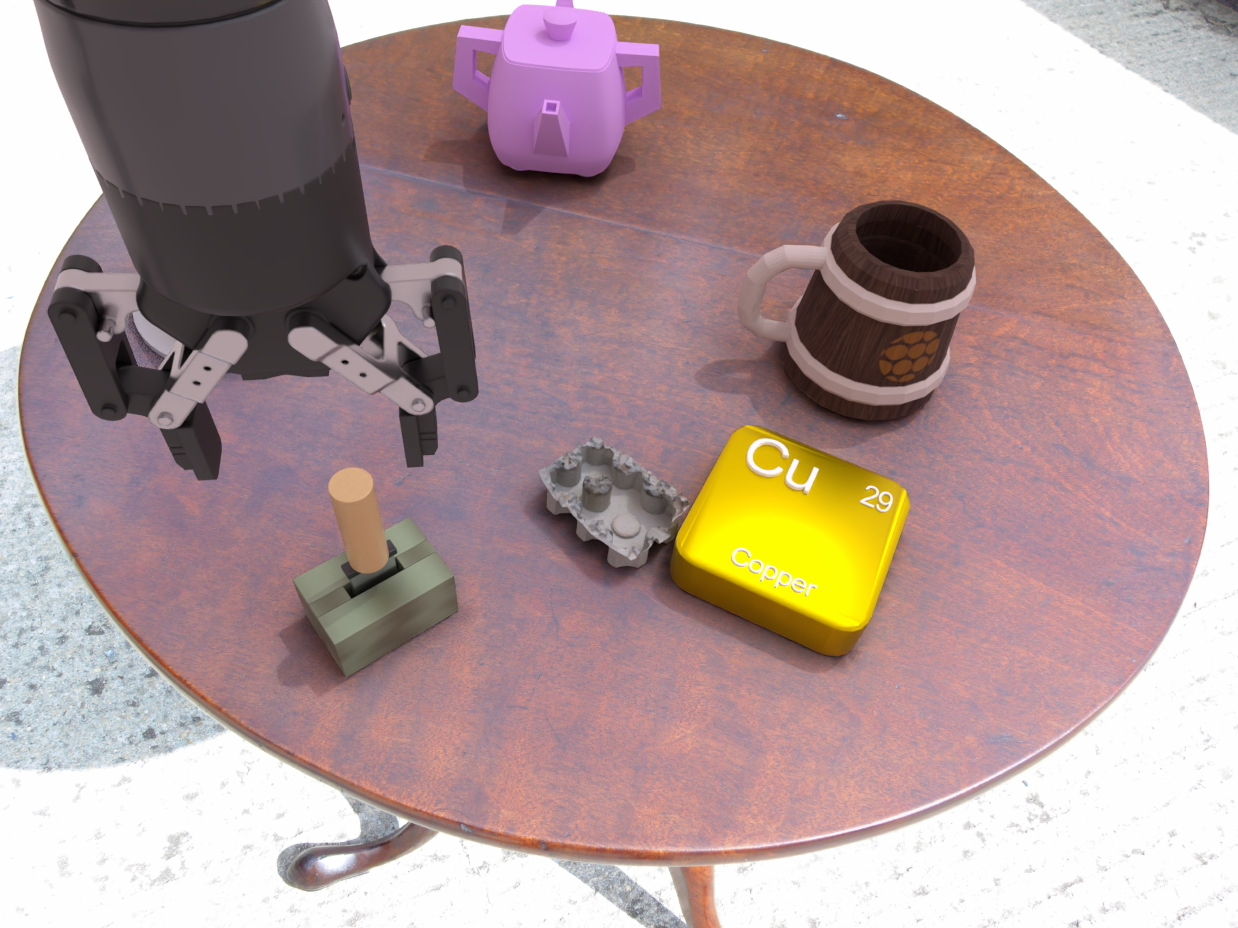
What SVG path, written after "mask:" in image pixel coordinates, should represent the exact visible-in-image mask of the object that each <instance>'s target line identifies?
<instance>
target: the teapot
mask: <svg viewBox="0 0 1238 928" xmlns="http://www.w3.org/2000/svg"><path fill="white" fill-rule="evenodd" d="M478 51H479V52H482V53H486V54H491V55H495V58H494V62H493V66H492V70H491V74H490V77H488V76H487V75H485V74H484V73H482V72H481V71H479V70H478V69H477V55H478V54H477V52H478ZM454 54H455V55H454V65H453V76H452V85H451V86H452V87H451V88H452V89H453V90H455V91H456V92H457V93H459V94H460V95H462V96H463V97H465V98H466V99H468V100H469V101H471V102H472V103H473V104H475V105H476V106H478V107H479V108H481V109H482V110H484V111H485V112H486V113H487V128H488V136H489V140H490V143H491V146H492V149H493V151H494V153H495V155H496V157H497V159H498V160H499V162H501V164H503V165H504V166H507V167H509V168H511V169H513V170H515V171H522V172H523V171H528V170H529V171H537V172H544V173H545V172H546V173H556V174H569V175H578V176H581V177H584V178H585V177H586V178H589V177H595V176H596V175H598V174H601V173H602V172H604V171H606V169H607V168H608V167H609V166H610V164H611V163H612V160H613V159H614V157H615V155H616V152H617V151H618V148H619V146H620V144H621V141H622V137H623V135H624V131H625V128H626V126H628V125H629V124H631V123H633V122H635V121H638V120H639V119H642V118H643V117H646V116H648V115H650V114H652V113H654V112H657V111H658V110H661V109H662V87H661V63H660V61H661V60H660V44H659V43H658V44H656V43H644V42H630V41H629V42H628V41H619V40H618V36H617V31H616V28H615V24H614V20H613V19H612V17H611V16H610V15H609V14H608V13H606V12H605V11H599V10H592V9H586V8H577V7H575V5H574V0H556V1H555V5H546V4H521V5H518V6H517V7H516V8H515V9H514V10H513V11H512V12H511V14H510V15H509V17H508V19H507V21H506V24H505V25H504V29H497V28H488V27H481V26H473V25H467V24H461V25H460V27H459V30H458V33H457V36H456V44H455V53H454ZM626 67H628V68H629V67H630V68H631V67H642V68H641V69H642V70H641V85H640V86H637V87H635V88H633V89H631V90H628V91H626V88H627V87H626V80H625V71H624V68H626Z"/></svg>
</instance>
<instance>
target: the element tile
mask: <svg viewBox="0 0 1238 928" xmlns="http://www.w3.org/2000/svg"><path fill="white" fill-rule="evenodd" d="M910 511H911V500H910V496H909V493H908V492H907V490H906V488H905V487H903V486H902V485H901V484H900V483H899V482H897V481H896V480H894V479H891V478H889V477H887V476H885V475H883V474H880V473H877V472H875V471H872V470H870V469H867V468H865V467H862V466H860V465H858V464H855V463H853V462H850V461H848V460H845V459H843V458H840V457H838V456H835V455H833V454H831V453H828V452H826V451H824V450H821V449H818V448H816V447H814V446H811V445H809V444H807V443H804V442H801V441H799V440H796V439H794V438H791V437H789V436H787V435H784V434H782V433H779V432H777V431H775V430H772V429H769V428H767V427H764V426H761V425H755V424H746V425H742V426H739V427H738V428H736V429H735V430H734V431H733V432H732V433H731V434H730V436H729V438H728V439H727V441H726V443H725V445H724V447H723V448H722V450H721V452H720V454H719V456H718V458H717V460H716V461H715V463H714V465H713V467H712V469H711V471H710V472H709V475H708V476H707V478H706V480H705V482H704V484H703V485H702V487H701V489H700V491H699V493H698V494H697V497H696V498H695V500H694V502H693V504H692V506H691V507H690V509H689V511H688V513H687V515H686V517H685V518H684V521H683V522H682V524H681V526H680V528H679V530H678V531H677V533H676V536H675V541H674V545H673V549H672V553H671V558H670V563H669V574H670V576H671V577H670V578H671V579H672V581H673V582H674V584H675V585H676V586H678V588H679V589H680V590H682V591H684V592H686V593H687V594H690V595H692V596H694V597H696V598H698V599H701V600H703V601H705V602H707V603H709V604H711V605H714V606H716V607H718V608H720V609H722V610H724V611H727V612H729V613H731V614H734V615H736V616H738V617H739V618H742V619H744V620H747V621H748V622H751V623H753V624H755V625H758V626H760V627H762V628H765V629H766V630H768V631H770V632H773V633H774V634H777V635H780V636H782V637H783V638H786V639H788V640H790V641H793V642H795V643H797V644H799V645H801V646H803V647H805V648H808V649H810V650H811V651H814V652H817V653H818V654H822V655H825V656H830V657H840V656H843V655H846V654H848V653H849V652H850V651H852V650H853V649H854V648H855V646H856V645H857V643H858V641H859V640H860V638H861V637H862V635H863V633H864V632H865V630H866V628H867V627H868V625H869V623H870V621H871V620H872V618H873V615H874V612H875V609H876V607H877V604H878V601H879V598H880V595H881V592H882V590H883V588H884V587H883V586H884V583H885V581H886V579H887V575H888V572H889V569H890V567H891V564H892V562H893V559H894V555H895V553H896V549H897V546H898V544H899V542H900V538H901V536H902V532H903V530H904V526H905V524H906V521H907V518H908V515H909V513H910Z"/></svg>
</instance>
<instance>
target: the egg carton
mask: <svg viewBox="0 0 1238 928" xmlns="http://www.w3.org/2000/svg"><path fill="white" fill-rule="evenodd" d="M538 475H539V477H540V479H541V481H542V483H543V484H544V486H545V488H546V489H547V492H546V509H547V510H548V511H549V512H550V513H552V514H553V515H560V514H568V513H569V514H571V515H572V516H573V517H574V518H575V519H576V530H575V531H576V532H575V533H576V536H577V537H578V538H579V539H581V540H582V541H583V542H587V541H591V540H599V541H601V542H602V543H604V544H605V545H606V546H608V553H607V559H606V561H607V563H609V565H610V566H612V567H614V568H620V567H627V566H628V567H633V568H640V567H641V566H644V565H645V564H646V563H647V560H648V554H649V550H650V548H651V547H652V546H653V544H654V542H656V543H657V544H661V543H664V544H669V543H670V542H672V541H673V540H674V539H676V536H677V530H678V525H679V519H678V518H679V517H680V516H681V515H683V514H684V513H685V511H686V510H688V509H689V507H690V502H689V500H688V498H686V497H684V496H683V493H682V492H681V491H679V489H677V488H675V487H674V486H673V484H671V483H669V482H667V481H666V480H664V479H662V480H659V478H657V476H655V474H654V473H653V472H652V471H650V470H647V469H645V467H643V466H642V465H641V464H639V463H638V462H637V461H636V460H635V459H634V458H633V457H631V456H629V455H627V454H626V453H624V452H622V451H620V450H617V449H616V448H614V447H612V446H608V445H605V443H604V440H603V439H602V438H600V437H599V436H596V435H593V436H592V437H590V438H589V440H588V441H587V442H585V443H584V444H582V443H580V444H578V445H576V446H575V447H574V449H573V450H570V451H567V452H566V453H565V454H563V455H562V456H559V457H557V458H555V459H554V461H552V463H551V464H549V465H546V466H545V467H543V468H541V469H539V470H538Z"/></svg>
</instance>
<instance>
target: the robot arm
mask: <svg viewBox="0 0 1238 928" xmlns="http://www.w3.org/2000/svg"><path fill="white" fill-rule="evenodd" d="M32 1H33V5H34V8H35V11H36V15H37V19H38V23H39V27H40V31H41V35H42V39H43V44H44V47H45V51H46V54H47V58H48V62H49V65H50V68H51V70H52V73H53V75H54V78H55V80H56V84H57V86H58V88H59V91H60V93H61V95H62V98H63V101H64V103H65V106H66V107H67V110H68V112H69V115H70V118H71V120H72V122H73V124H74V126H75V129H76V132H77V134H78V136H79V139H80V141H81V143H82V145H83V146H82V147H83V148H84V151H85V153H86V156H87V158H88V160H89V163H90V165H91V167H92V170H93V172H94V174H95V177H96V179H97V181H98V182H97V183H98V185H99V186H100V189H101V191H102V194H103V196H104V198H105V201H106V203H107V205H108V207H109V210H110V212H111V215H112V218H113V219H114V222H115V225H116V226H117V229H118V231H119V234H120V236H121V239H122V241H123V243H124V246H125V248H126V250H127V253H128V255H129V258H130V260H131V262H132V264H133V267H134V269H135V271H136V272H104V271H103V269H102V266H101V265H100V264H99V262H97V260H95V259H94V258H92V257H90V256H87V255H85V254H70V255H68V256H67V257H65V258H64V259H63V261H62V265H61V268H60V270H59V274H58V277H57V280H56V283H55V285H54V290H53V291H52V294H51V298H50V301H49V304H48V307H47V311H46V312H47V316H48V318H49V320H50V323H51V325H52V327H53V329H54V332H55V334H56V336H57V338H58V340H59V343H60V345H61V347H62V349H63V351H64V354H65V356H66V358H67V361H68V363H69V365H70V367H71V369H72V372H73V374H74V376H75V378H76V380H77V383H78V385H79V387H80V389H81V392H82V394H83V396H84V398H85V400H86V402H87V404H88V406H89V409H90V411H91V413H92V414H93V415H94V416H95V417H97V418H98V419H101V420H104V421H109V422H117V421H121V420H124V419H126V417H127V415H128V414H131V415H135V416H136V415H138V416H142V417H145V418H147V419H148V422H149V423H150V424H151V425H152V426H154V427H156V428H158V429H159V431H160V432H161V435H162V437H163V438H164V441H165V443H166V444H167V447H168V450H169V451H170V454H171V456H172V458H173V460H174V462H175V464H176V465H178V466H179V467H180V468H181V469H183V470H184V471H193V473H194V475H195V478H196V480H197V481H198V482H201V481H202V482H203V481H216V480H218V479H219V474H220V467H221V460H222V455H223V454H222V453H223V443H222V439H221V435H220V434H219V431H218V428H217V426H216V423H215V420H214V417H213V416H212V413H211V410H210V409H209V406H208V403H207V401H206V400H207V399H208V398H209V396H210V395H211V393H212V392H213V391H214V389H215V388H216V387H217V386H218V384H219V383H220V382H221V380H222V379H223V378H224V376H225V375H226V374H227V372H228V373H232V374H235V375H239V376H241V379H242V381H260V380H262V381H263V380H269V379H272V378H276V377H280V376H294V377H302V378H322V377H330V371H333V372H335V373H337V374H338V375H340V376H341V377H342V378H344V379H345V380H347V381H348V382H349V383H351V384H352V385H354V386H355V387H356V388H358V389H359V390H361V391H362V392H364V393H365V394H367V395H369V396H373V395H375V394H377V393H379V394H381V395H382V396H384V397H385V398H387V400H389V401H391V402H392V403H394V404H395V405H397V406H398V418H399V419H398V420H399V425H400V431H401V438H402V444H403V445H402V446H403V451H404V458H405V463H406V468H407V469H409V468H423V467H424V462H425V461H424V456H434V455H435V454H436V452H437V450H438V448H439V437H438V435H439V434H438V432H439V431H438V418H437V410H436V409H437V407H436V406H437V405H438V404H439V403H441V402H442V401H445V400H447V399H451V400H452V401H454V402H456V403H463V404H464V403H469V402H472V401H474V400H475V399H476V398H477V397H478V396H479V393H480V390H479V379H478V373H477V366H476V359H477V352H476V351H477V349H476V343H475V335H474V328H473V321H472V314H471V308H470V301H469V300H470V299H469V291H468V286H467V278H466V272H465V264H464V258H463V254H462V252H461V250H460V249H458V248H457V247H455V246H453V245H449V244H443V245H442V244H441V245H439V246H436V247H435V248H434V249H432V250H431V252H430V253H429V262H416V263H405V264H404V263H403V264H393V265H392V264H391V265H390V264H389V265H388V263H387V261H386V260H384V258H383V257H382V256H381V255H380V254H379V253H378V252H377V250H376V248H375V246H374V244H373V242H372V237H371V232H370V225H369V219H368V213H367V212H368V211H367V206H366V200H365V194H364V193H365V192H364V188H363V182H362V174H361V167H360V163H359V156H358V151H357V150H358V149H357V143H356V136H355V130H354V124H353V119H352V112H351V105H352V100H353V96H352V95H353V94H352V88H351V81H350V78H349V74H348V72H347V68H346V66H345V64H344V63H343V55H342V54H343V53H342V50H341V44H340V39H339V35H338V31H337V27H336V24H335V19H334V16H333V12H332V10H331V6H330V4H329V0H32ZM392 302H396V303H401V304H404V305H406V306H407V307H408V308H410V310H411V312H412V314H413V316H414V317H415V318H416V319H417V320H420V321H421V322H422V326H423V327H424V328H426V329H433V328H435V332H436V336H437V342H438V346H439V347H438V348H439V352H438V353H434V354H431V355H430V354H428V353H427V352H425V351H424V350H423V349H422V348H420V347H419V346H418V345H416V344H415V343H414V342H413V341H412V340H410V339H409V338H408V337H407V336H406V335H404V334H403V333H402V332H401V330H400V329H399V325H397V322H396V321H395V320H394V318H393V317H392V316H391V315H390V314H389V313H388V311H389V310H390V308H391V305H392ZM136 311H140V313H141V314H142V315H143V317H144V318H145V319H146V320H147V321H148V322H150V323H151V324H153V325H154V326H156V327H157V328H159V329H160V330H162V331H163V332H165V333H166V334H168V335H170V336H171V337H173V338H174V339H176V342H175V344H174V346H173V347H172V349H171V350H170V352H169V353H168V355H167V356H166V357H165V358H163V360H162V362H161V363H160V365H159V366H158V368H151V367H145V366H139V365H138V363H137V359H136V357H135V354H134V352H133V348H132V346H131V343H130V341H129V338H128V336H127V332H126V329H127V327H128V323H129V318H130V315H131V314H132V313H133V312H136Z"/></svg>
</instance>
